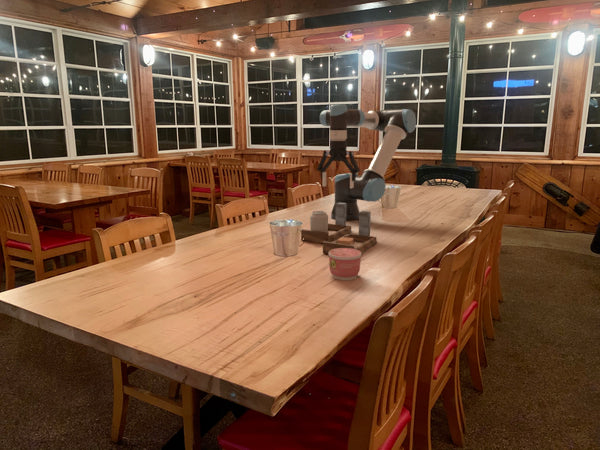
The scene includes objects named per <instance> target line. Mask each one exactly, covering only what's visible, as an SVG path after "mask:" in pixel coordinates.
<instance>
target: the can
mask: <svg viewBox="0 0 600 450" xmlns="http://www.w3.org/2000/svg"><path fill="white" fill-rule="evenodd" d="M327 213H328V212H327V211H324V210H315V211H312V212H311V214H310V218H309V220H310V221H309V223H310V225H309V226H310V227H309V228H310V229H309V230H313V231H320V232H328V233H329V229H328V223H329V215H328V214H327Z"/></svg>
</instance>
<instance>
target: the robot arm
mask: <svg viewBox="0 0 600 450" xmlns="http://www.w3.org/2000/svg"><path fill="white" fill-rule="evenodd" d="M319 114H320V115H319V122H320V124H321V126H323V127H329V139H330V141H329V150H327V149H326V150H324V151H323V152H322V153H323V154H322V157H321V160H320V162H319V163H318V166H317V168H316V170H317V172H318V171H319V172H320V178H321V179H320V180H322V187H327V171H326V170H327V169H328V168H329V166H330V165H331V164H332V163H333V162H342V163H344V165H345V166H346V167H347V169H348V170H349V171H350V172H351V173H349V172H348V173H340V174H336V176H335V177H334V202H333V207H332V209H331V213H330V217H331V219H334V220H336V204H337V203H346V221H355V220H356V221H357V220H359V212H360V209H359V206H358V201H359V200H360V201H363V202H364V201H366V202H370V203H371V202H378V201H380V200H381V199H382V197H383V196H384V194H385V192H386V187H387V185H386V181H385V180H386V179H385V174H386V172H387V169H388V167H389V166H390V163H391V162H392V159H393V158H394V156H395V153H396V152H397V149H398V147H399V145H400V142H401V140H404V139H406V138H407V135H408V133H409V134H410V133H413V132H414V131H415V129H416V127H417V117H416V114H415V112H414V111H413V110H412V109H410V108H409V109H408V108H407V109H406V108H401V109H400V108H399V109H382V110H369V111H367V112H364V111H363V110H362V109H357V108H348V106H347V104H344V103H343V104H342V103H341V104H337V103H336V104H331V105H330V109H326V110H325V109H324V110H322V111H321V112H320V113H319ZM348 127H351V128H366V129H368V130H370V131H371V130H372V131H378V132H384V133H385V134H384V136H383V137H382V139H381V141H380V143H379V146H378V148H377V150H376V152H375V154H374V156H373V157H372V159H371V162H370V164H369V166H368V168H367V169H364V170H362V173H361V176H360V175H358V173H360V171H361V169H360V167H359V165H358V162H357V160H356V158H355V155H354V151H353V150H350V151H348V150H347V149H348V147H347V144H348V142H347V139H348V134H347V133H348V131H347V130H348ZM328 156H330V157H329V159H328V160H327V158H328ZM347 156H348V157H349V159H348V158H347ZM326 160H327V161H326ZM349 160H350V162H349ZM325 162H326V163H325Z"/></svg>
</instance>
